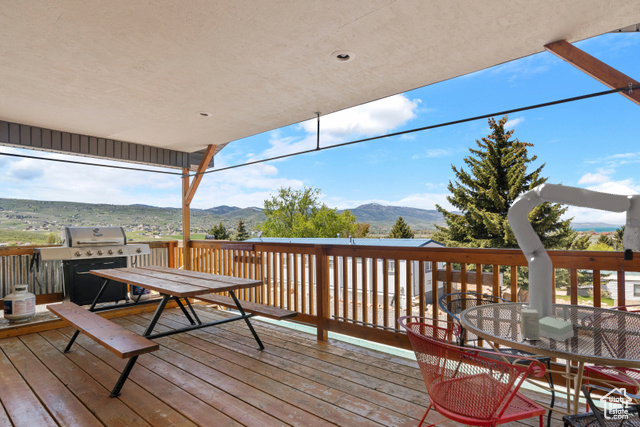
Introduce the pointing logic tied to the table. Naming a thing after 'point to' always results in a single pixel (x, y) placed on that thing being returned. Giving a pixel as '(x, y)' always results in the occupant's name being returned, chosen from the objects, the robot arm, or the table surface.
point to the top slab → (555, 326)
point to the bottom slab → (557, 337)
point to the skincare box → (530, 324)
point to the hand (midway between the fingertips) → (636, 262)
